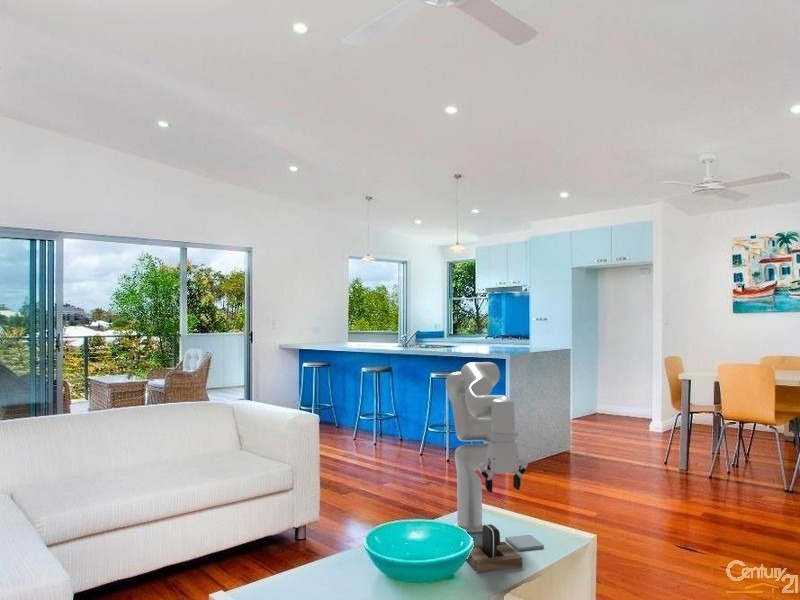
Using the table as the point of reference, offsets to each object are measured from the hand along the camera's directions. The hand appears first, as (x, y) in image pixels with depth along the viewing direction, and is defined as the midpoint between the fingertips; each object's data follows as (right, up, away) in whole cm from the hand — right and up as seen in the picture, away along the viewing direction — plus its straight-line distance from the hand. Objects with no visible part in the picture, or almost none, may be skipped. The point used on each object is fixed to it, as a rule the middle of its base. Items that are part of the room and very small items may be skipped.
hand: (503, 490), depth 185 cm
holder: (-3, -25, +5) cm, 26 cm away
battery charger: (-3, -25, +5) cm, 26 cm away
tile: (+11, -26, +19) cm, 33 cm away
